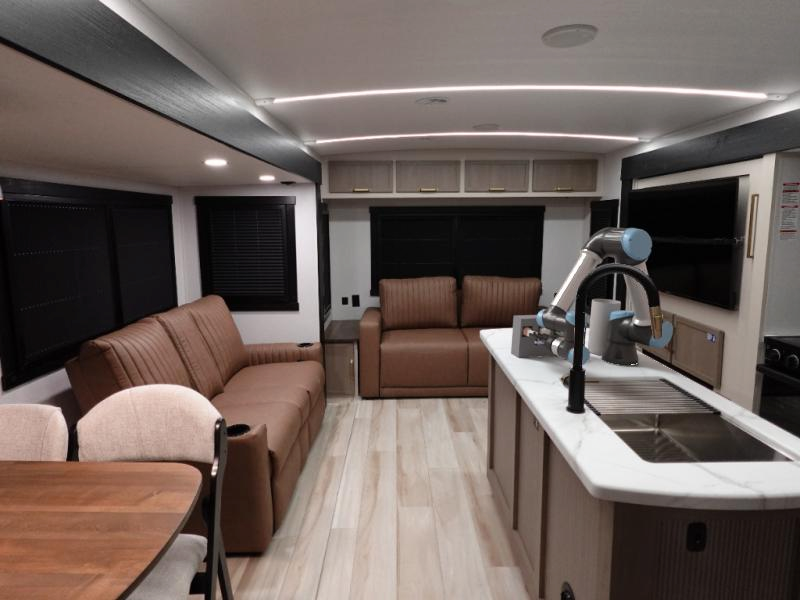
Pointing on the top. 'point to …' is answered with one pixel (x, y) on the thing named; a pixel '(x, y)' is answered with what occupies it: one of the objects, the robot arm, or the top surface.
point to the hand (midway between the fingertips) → (528, 332)
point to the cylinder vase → (600, 324)
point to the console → (527, 338)
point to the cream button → (543, 331)
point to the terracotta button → (525, 330)
